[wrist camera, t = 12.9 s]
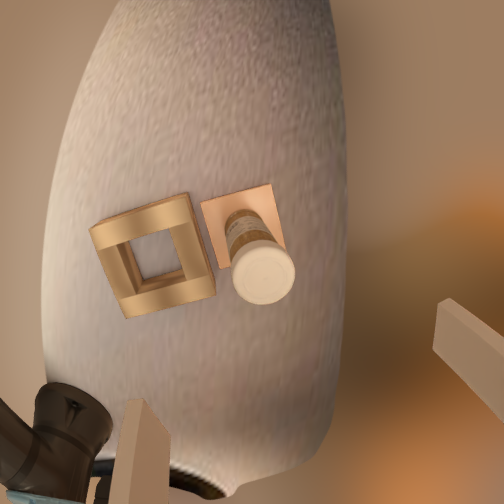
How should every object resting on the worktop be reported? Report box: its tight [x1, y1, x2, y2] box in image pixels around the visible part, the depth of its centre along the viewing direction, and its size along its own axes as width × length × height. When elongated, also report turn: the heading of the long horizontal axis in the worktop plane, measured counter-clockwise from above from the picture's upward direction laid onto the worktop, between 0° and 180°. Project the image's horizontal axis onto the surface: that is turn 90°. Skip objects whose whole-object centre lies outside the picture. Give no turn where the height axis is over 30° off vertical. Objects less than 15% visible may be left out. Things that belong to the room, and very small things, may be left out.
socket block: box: [88, 192, 216, 319], centre depth 32 cm, size 11×11×4 cm
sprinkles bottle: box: [224, 209, 295, 305], centre depth 27 cm, size 5×5×14 cm
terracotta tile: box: [200, 183, 286, 269], centre depth 34 cm, size 8×8×1 cm
